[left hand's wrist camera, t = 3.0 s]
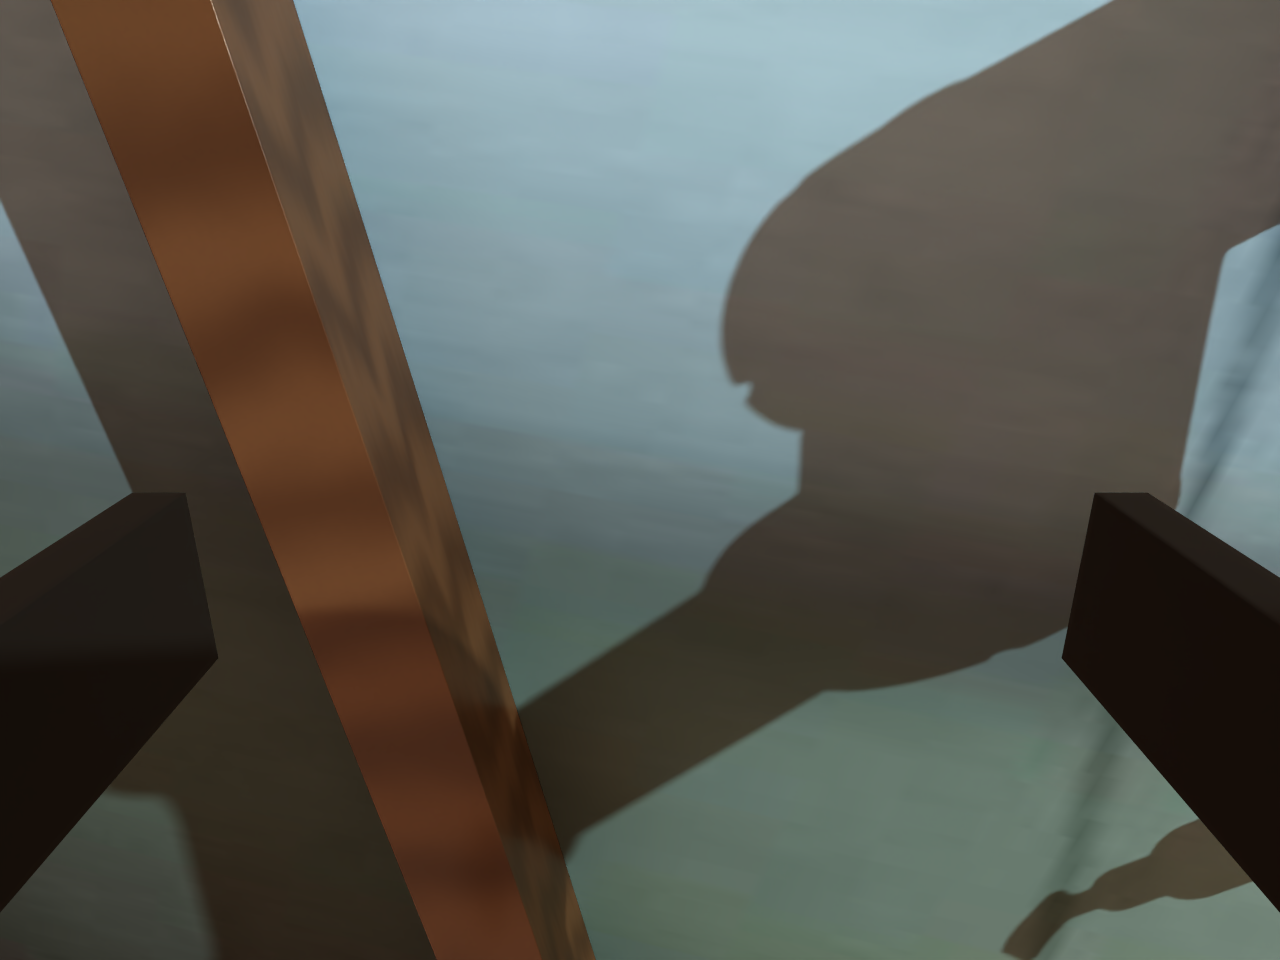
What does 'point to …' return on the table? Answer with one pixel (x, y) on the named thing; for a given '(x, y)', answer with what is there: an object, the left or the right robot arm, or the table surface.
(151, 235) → the post
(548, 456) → the table surface
